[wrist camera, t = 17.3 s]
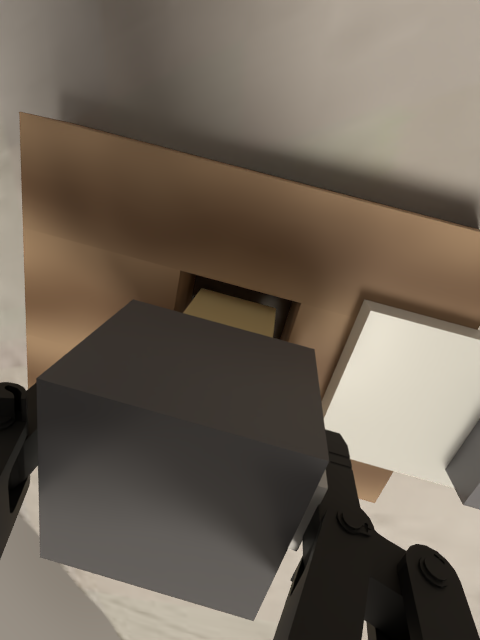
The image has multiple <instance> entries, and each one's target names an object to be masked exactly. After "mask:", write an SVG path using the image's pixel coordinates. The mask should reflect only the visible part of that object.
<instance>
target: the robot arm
mask: <svg viewBox="0 0 480 640" xmlns="http://www.w3.org/2000/svg"><path fill="white" fill-rule="evenodd" d="M325 433H326V440H327V448H328V455H329V463H328V465H327V467H326V469H325V471H324V473H323V475H322V478H321V480H320V482H319V484H318V486H317V488H316V490H315V492H314V494H313V497H312V499H311V501H310V503H309V505H308V507H307V509H306V511H305V513H304V516H303V518H302V520H301V522H300V524H299V526H298V528H297V530H296V532H295V535H294V537H293V539H292V541H291V543H290V545H289V547H288V549H291V550H294V551H297V550H298V548H299V546H300V544H301V542H302V540H303V556H302V558H301V560H300V562H299V564H298V566H297V568H296V570H295V572H294V574H293V576H292V578H291V581H292V585H291V588H290V591H289V594H288V597H287V600H286V603H285V606H284V609H283V612H282V615H281V618H280V621H279V624H278V627H277V630H276V633H275V636H274V639H273V640H361V639H362V631H363V623H364V620H365V621H366V622H367V633H368V640H480V638H479V635H478V632H477V629H476V626H475V623H474V620H473V617H472V614H471V611H470V608H469V605H468V602H467V599H466V596H465V594H464V591H463V588H462V585H461V582H460V580H459V578H458V576H457V574H456V572H455V570H454V569H453V567H452V566H451V565H450V564H449V562H448V561H447V560H446V559H445V558H444V557H443V556H441V555H440V554H439V553H438V552H437V551H435V550H433V549H431V548H429V547H428V546H425V545H420V544H415V545H412V546H410V547H409V548H408V550H407V551H405V550H404V549H402V548H400V547H399V546H397V545H395V544H394V543H392V542H390V541H389V540H387V539H385V538H384V537H383V536H381V535H380V534H378V533H377V532H376V531H375V530H374V526H373V524H372V522H371V520H370V518H369V517H368V516H367V515H366V513H365V512H364V511H363V510H362V509H361V508H360V504H359V499H358V494H357V489H356V484H355V479H354V474H353V470H352V464H351V460H350V455H349V450H348V445H347V444H346V442H345V441H344V439H343V437H342V436H341V434H340V433H337V432H333V431H330V430H326V429H325ZM37 466H38V431H37V384H36V383H35V384H34V385H33V386H31V387H30V388H29V389H28V390H27V391H26V390H25V388H24V387H22V386H20V385H18V384H15V383H9V382H2V383H0V558H1V556H2V553H3V551H4V548H5V546H6V543H7V541H8V538H9V536H10V533H11V531H12V528H13V526H14V523H15V520H16V518H17V515H18V513H19V510H20V508H21V505H22V503H23V500H24V498H25V495H26V493H27V490H28V488H29V484H30V474H31V473H32V471H33V470H34V469H35V468H36V467H37Z"/></svg>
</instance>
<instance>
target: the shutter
mask: <svg viewBox="0 0 480 640" xmlns="http://www.w3.org/2000/svg"><path fill="white" fill-rule="evenodd" d="M322 410H323V417H324V425H325V429H326V430H330V431H333V432H337V433H340V434H341V436H342V437H343V439H344V441H345V442H346V444H347V445H348V450H349V455H350V459H352V460H356V461H359V462H363V463H366V464H370V465H373V466H377V467H380V468H384V469H387V470H391V471H394V472H398V473H401V474H405V475H408V476H412V477H415V478H419V479H422V480H426V481H430V482H433V483H437V484H440V485H444V486H447V487H451V488H454V489H455V490H456V492H457V494H458V496H459V498H460V500H461V502H462V504H463V505H466V506H469V507H473V508H476V509H480V330H476V329H472V328H469V327H465V326H461V325H458V324H454V323H450V322H446V321H443V320H439V319H435V318H432V317H428V316H424V315H420V314H417V313H413V312H409V311H406V310H402V309H398V308H395V307H391V306H387V305H383V304H380V303H376V302H372V301H369V300H365V299H364V301H363V304H362V306H361V308H360V311H359V313H358V316H357V318H356V320H355V323H354V325H353V328H352V330H351V332H350V335H349V337H348V340H347V342H346V344H345V347H344V349H343V351H342V354H341V356H340V359H339V361H338V363H337V366H336V368H335V371H334V373H333V375H332V378H331V380H330V383H329V385H328V387H327V390H326V392H325V395H324V397H323V399H322Z"/></svg>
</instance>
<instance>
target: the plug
mask: <svg viewBox="0 0 480 640" xmlns="http://www.w3.org/2000/svg"><path fill="white" fill-rule="evenodd" d="M275 314H276V308H273V307H269V306H266V305H262V304H258V303H255V302H251V301H247V300H243V299H240V298H236V297H232V296H229V295H225V294H221V293H218V292H214V291H210V290H207V289H203V288H201V290H200V291H199V292H198V294H197V295H196V296H195V298H194V299H193V300H192V302H191V303H190V304H189V306H188V307H187V308H186V309H185V311H184V312H183V313H181V312H177V311H174V310H170V309H166V308H163V307H159V306H155V305H152V304H148V303H144V302H141V301H137V300H134V299H133V300H132V301H130V302H129V303H128V304H127V305H125V306H124V307H123V308H122V309H121V310H119V311H118V312H117V313H116V314H114V315H113V316H112V317H111V318H110V319H108V320H107V321H106V322H105V323H103V324H102V325H101V326H100V327H99V328H97V329H96V330H95V331H94V332H92V333H91V334H90V335H89V336H88V337H86V338H85V339H84V340H83V341H81V342H80V343H79V344H78V345H76V346H75V347H74V348H73V349H72V350H70V351H69V352H68V353H67V354H65V355H64V356H63V357H62V358H61V359H59V360H58V361H57V362H56V363H54V364H53V365H52V366H51V367H50V368H48V369H47V370H46V371H45V372H43V373H42V374H41V375H40V376H39V377H37V378H36V384H37V431H38V478H39V525H40V557H41V558H44V559H48V560H51V561H54V562H58V563H61V564H64V565H68V566H71V567H74V568H78V569H81V570H84V571H88V572H91V573H94V574H98V575H101V576H105V577H108V578H111V579H115V580H118V581H121V582H125V583H128V584H131V585H135V586H138V587H141V588H145V589H148V590H151V591H155V592H158V593H161V594H165V595H168V596H171V597H175V598H178V599H182V600H185V601H188V602H192V603H195V604H198V605H202V606H205V607H208V608H212V609H215V610H218V611H222V612H225V613H228V614H232V615H235V616H238V617H242V618H245V619H249V620H252V621H254V619H255V617H256V615H257V613H258V611H259V608H260V606H261V604H262V602H263V600H264V598H265V596H266V594H267V592H268V589H269V587H270V585H271V583H272V581H273V579H274V577H275V575H276V573H277V570H278V568H279V566H280V564H281V562H282V560H283V558H284V556H285V554H286V551H287V549H288V547H289V545H290V543H291V541H292V539H293V537H294V535H295V532H296V530H297V528H298V526H299V524H300V522H301V520H302V518H303V516H304V513H305V511H306V509H307V507H308V505H309V503H310V501H311V499H312V497H313V494H314V492H315V490H316V488H317V486H318V484H319V482H320V480H321V478H322V475H323V473H324V471H325V469H326V467H327V465H328V463H329V455H328V448H327V440H326V433H325V425H324V417H323V410H322V402H321V395H320V387H319V379H318V372H317V364H316V357H315V349H312V348H309V347H305V346H301V345H298V344H294V343H290V342H287V341H283V340H279V339H276V338H273V333H274V323H275Z"/></svg>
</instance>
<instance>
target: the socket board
mask: <svg viewBox="0 0 480 640" xmlns="http://www.w3.org/2000/svg"><path fill="white" fill-rule="evenodd" d="M19 115H20V147H21V179H22V210H23V242H24V273H25V305H26V337H27V368H28V389H29V388H30V387H31V386H33V385H34V384H35V383H36V378H37V377H39V376H40V375H41V374H42V373H43V372H45V371H46V370H47V369H48V368H50V367H51V366H52V365H53V364H54V363H56V362H57V361H58V360H59V359H61V358H62V357H63V356H64V355H65V354H67V353H68V352H69V351H70V350H72V349H73V348H74V347H75V346H76V345H78V344H79V343H80V342H81V341H83V340H84V339H85V338H86V337H88V336H89V335H90V334H91V333H92V332H94V331H95V330H96V329H97V328H99V327H100V326H101V325H102V324H103V323H105V322H106V321H107V320H108V319H110V318H111V317H112V316H113V315H114V314H116V313H117V312H118V311H119V310H121V309H122V308H123V307H124V306H125V305H127V304H128V303H129V302H130V301H132V300H133V299H134V300H137V301H141V302H144V303H148V304H152V305H155V306H159V307H163V308H166V309H170V310H174V311H177V312H181V313H183V312H184V311H185V309H186V308H187V307H188V306H189V304H190V303H191V299H192V294H193V289H194V283H195V278H196V275H199V276H203V277H207V278H210V279H214V280H218V281H221V282H225V283H229V284H232V285H236V286H240V287H243V288H247V289H251V290H254V291H258V292H262V293H265V294H269V295H273V296H277V297H280V298H284V299H288V300H291V301H292V304H291V307H290V310H289V313H288V316H287V319H286V322H285V325H284V328H283V332H282V335H281V338H280V340H283V341H287V342H290V343H294V344H298V345H301V346H305V347H309V348H312V349H315V357H316V364H317V372H318V379H319V387H320V395H321V402H322V399H323V397H324V395H325V392H326V390H327V387H328V385H329V383H330V380H331V378H332V375H333V373H334V371H335V368H336V366H337V363H338V361H339V359H340V356H341V354H342V351H343V349H344V347H345V344H346V342H347V340H348V337H349V335H350V332H351V330H352V328H353V325H354V323H355V320H356V318H357V316H358V313H359V311H360V308H361V306H362V304H363V301H364V299H365V300H369V301H372V302H376V303H380V304H383V305H387V306H391V307H395V308H398V309H402V310H406V311H409V312H413V313H417V314H420V315H424V316H428V317H432V318H435V319H439V320H443V321H446V322H450V323H454V324H458V325H461V326H465V327H469V328H472V329H476V330H477V329H478V328H479V326H480V230H479V229H475V228H472V227H468V226H464V225H460V224H456V223H452V222H449V221H445V220H441V219H437V218H433V217H429V216H426V215H422V214H418V213H414V212H410V211H406V210H403V209H399V208H395V207H391V206H387V205H383V204H380V203H376V202H372V201H368V200H364V199H360V198H357V197H353V196H349V195H345V194H341V193H337V192H334V191H330V190H326V189H322V188H318V187H315V186H311V185H307V184H303V183H299V182H295V181H292V180H288V179H284V178H280V177H276V176H272V175H269V174H265V173H261V172H257V171H253V170H249V169H246V168H242V167H238V166H234V165H230V164H226V163H223V162H219V161H215V160H211V159H207V158H203V157H200V156H196V155H192V154H188V153H184V152H180V151H177V150H173V149H169V148H165V147H161V146H158V145H154V144H150V143H146V142H142V141H138V140H135V139H131V138H127V137H123V136H119V135H115V134H112V133H108V132H104V131H100V130H96V129H92V128H89V127H85V126H81V125H77V124H73V123H69V122H64V121H60V120H55V119H50V118H46V117H41V116H37V115H32V114H28V113H23V112H19ZM350 460H351V464H352V470H353V474H354V479H355V484H356V489H357V494H358V498H359V499H363V500H366V501H369V502H373V503H375V502H376V500H377V498H378V497H379V495H380V493H381V492H382V490H383V488H384V487H385V485H386V483H387V482H388V480H389V478H390V476H391V475H392V473H393V471H391V470H387V469H384V468H380V467H377V466H373V465H370V464H366V463H363V462H359V461H356V460H352V459H350Z"/></svg>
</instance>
